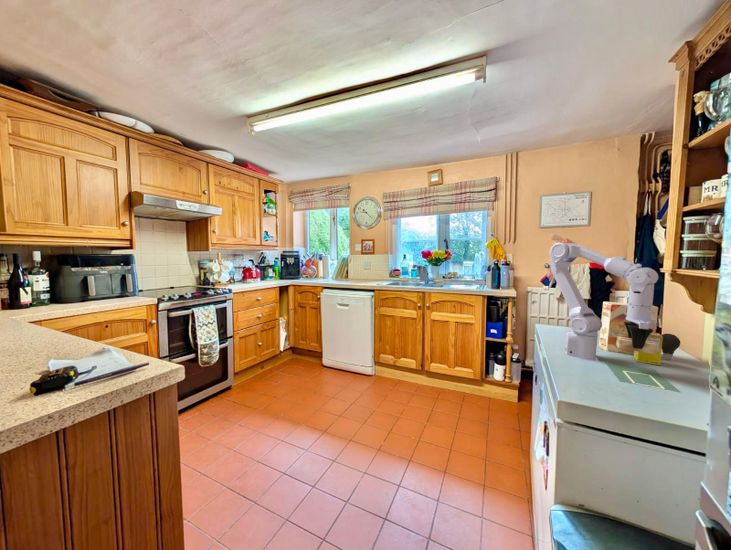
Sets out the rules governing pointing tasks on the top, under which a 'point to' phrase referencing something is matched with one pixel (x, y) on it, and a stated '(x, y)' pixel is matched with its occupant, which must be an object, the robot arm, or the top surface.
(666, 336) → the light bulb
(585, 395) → the top surface
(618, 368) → the green mat
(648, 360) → the supplement box
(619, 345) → the slotted wooden block
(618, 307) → the coffeecake box
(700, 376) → the top surface
